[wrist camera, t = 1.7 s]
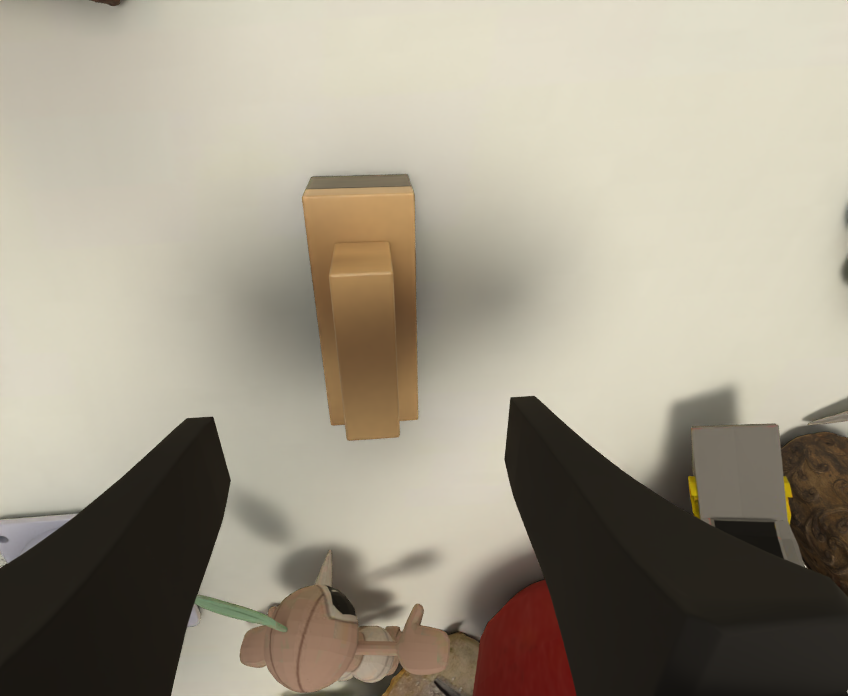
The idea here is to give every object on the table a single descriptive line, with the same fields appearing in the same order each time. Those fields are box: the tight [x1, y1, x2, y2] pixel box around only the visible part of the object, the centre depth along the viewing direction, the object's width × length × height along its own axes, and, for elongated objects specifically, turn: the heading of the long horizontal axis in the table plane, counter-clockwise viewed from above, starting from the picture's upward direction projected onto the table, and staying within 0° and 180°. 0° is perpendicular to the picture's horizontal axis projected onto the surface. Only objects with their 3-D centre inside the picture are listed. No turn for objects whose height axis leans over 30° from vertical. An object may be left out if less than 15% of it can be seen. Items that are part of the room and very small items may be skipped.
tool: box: [688, 424, 805, 567], centre depth 24 cm, size 5×25×15 cm, turn 19°
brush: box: [302, 174, 418, 441], centre depth 18 cm, size 9×4×6 cm, turn 0°
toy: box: [194, 550, 450, 693], centre depth 25 cm, size 13×7×15 cm
